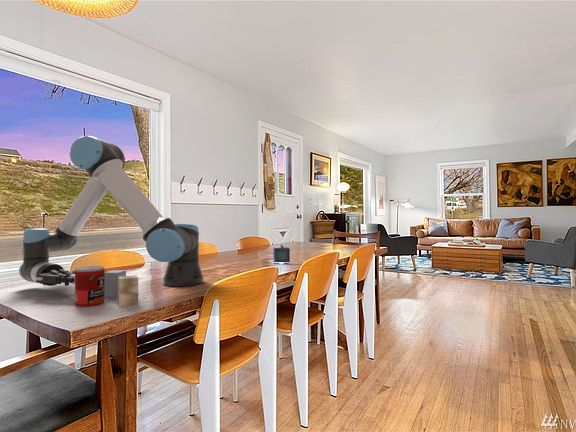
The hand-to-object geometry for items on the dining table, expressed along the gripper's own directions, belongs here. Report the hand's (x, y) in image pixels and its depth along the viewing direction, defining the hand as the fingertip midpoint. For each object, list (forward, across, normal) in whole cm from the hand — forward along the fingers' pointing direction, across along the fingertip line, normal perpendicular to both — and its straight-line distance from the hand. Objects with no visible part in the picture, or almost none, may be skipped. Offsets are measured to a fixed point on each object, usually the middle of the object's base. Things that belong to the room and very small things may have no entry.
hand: (82, 280), depth 106 cm
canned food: (+5, 0, -7) cm, 8 cm away
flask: (+5, -103, -7) cm, 103 cm away
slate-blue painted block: (0, -10, -6) cm, 12 cm away
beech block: (+14, -7, -6) cm, 17 cm away
